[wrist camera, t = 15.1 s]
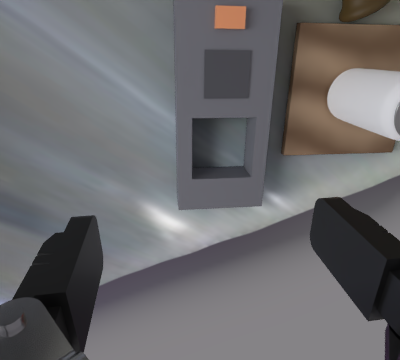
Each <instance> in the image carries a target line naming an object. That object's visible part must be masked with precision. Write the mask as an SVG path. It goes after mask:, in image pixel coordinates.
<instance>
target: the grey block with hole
mask: <svg viewBox="0 0 400 360" xmlns="http://www.w3.org/2000/svg"><path fill="white" fill-rule="evenodd" d="M282 4H283V0H173V6H174V58H175V109H176V161H177V199H178V207H179V210H188V209H209V208H230V207H251V206H262V196H263V187H264V177H265V168H266V158H267V148H268V139H269V129H270V120H271V110H272V100H273V91H274V81H275V72H276V62H277V52H278V43H279V33H280V24H281V14H282ZM192 118H247V127H246V141H245V154H244V166H238V167H206V168H192Z"/></svg>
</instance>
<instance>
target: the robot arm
mask: <svg viewBox="0 0 400 360" xmlns="http://www.w3.org/2000/svg"><path fill="white" fill-rule="evenodd" d="M310 241H311V245H312V247H313V250H314V251H315V252H316V254H317V255H318V256H319V257H320V259H321V260H322V262H323V263H324V264H325V265H326V267H327V268H328V269H329V271H330V272H331V273H332V275H333V276H334V277H335V278H336V280H337V281H338V282H339V284H340V285H341V286H342V288H343V289H344V290H345V292H346V293H347V294H348V296H349V297H350V298H351V299H352V301H353V302H354V303H355V305H356V306H357V307H358V309H359V310H360V311H361V312H362V314H363V315H364V317H365V318H366V319H367V320H368V321H372V320H380V319H385V320H386V321H387V323H388V324H387V327H386V330H385V360H400V241H399V240H398V239H397V238H396V237H394V236H393V235H392V234H391V233H388V231H387V230H386V229H384V228H383V227H382V226H379V224H378V223H377V222H376V221H375V220H373V219H372V218H371V217H370V216H368V215H366V214H364V213H362V212H360V211H358V210H356V209H354V208H352V207H351V206H350V205H349V204H348V203H346V202H345V201H344V200H343V199H342V198H340V197H331V198H319V199H318V200H317V201H316V203H315V207H314V213H313V219H312V225H311V231H310ZM102 270H103V252H102V246H101V240H100V235H99V229H98V224H97V219H96V217H95V216H94V215H92V216H79V217H71V219H70V221H69V223H68V225H67V227H66V229H65V231H64V232H61V233H55V234H54V235H52V236H51V237H50V238H49V239H48V240H46V241H45V242H44V243H43V245H42V247H41V248H40V250H39V252H38V254H37V256H36V257H35V259H34V261H33V263H32V266H30V268H29V270H28V272H27V274H26V276H25V277H24V279H23V281H22V283H21V285H20V286H19V288H18V290H17V292H16V294H15V295H14V297H13V299H12V300H11V301H8V302H6V303H4V304H2V305H0V360H88V358H87V357H86V355H85V354H84V353H83V352H84V349H85V344H86V340H87V336H88V331H89V327H90V322H91V318H92V314H93V309H94V305H95V301H96V296H97V292H98V288H99V283H100V279H101V275H102Z"/></svg>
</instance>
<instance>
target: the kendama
mask: <svg viewBox="0 0 400 360" xmlns="http://www.w3.org/2000/svg"><path fill="white" fill-rule="evenodd" d="M389 1H390V0H342V10H341V12H340V15H339V20H340V21H342V22H351V21H355V20H358V19H361V18H363V17H366V16H368V15H370V14H372V13H374V12H376V11H378V10H379V9H381V8H382V7H384V6H385V5H386V4H387V3H388V2H389Z"/></svg>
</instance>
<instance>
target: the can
mask: <svg viewBox="0 0 400 360" xmlns="http://www.w3.org/2000/svg"><path fill="white" fill-rule="evenodd" d="M327 104H328V108H329V110H330V112H331V113H332V114H333V115H334V116H335V117H336V118H338V119H340V120H343V121H345V122H348V123H350V124H353V125H355V126H358V127H361V128H363V129H366V130H369V131H371V132H374V133H376V134H379V135H382V136H384V137H387V138H390V139H393V140H398V141H400V72H399V71H388V70H376V69H363V68H353V69H349V70H347V71H345V72H343V73H341V74H340V75H339V76H338V77H337V78H336V79H335V80H334V81H333V83H332V85H331V86H330V89H329V92H328V96H327Z"/></svg>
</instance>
